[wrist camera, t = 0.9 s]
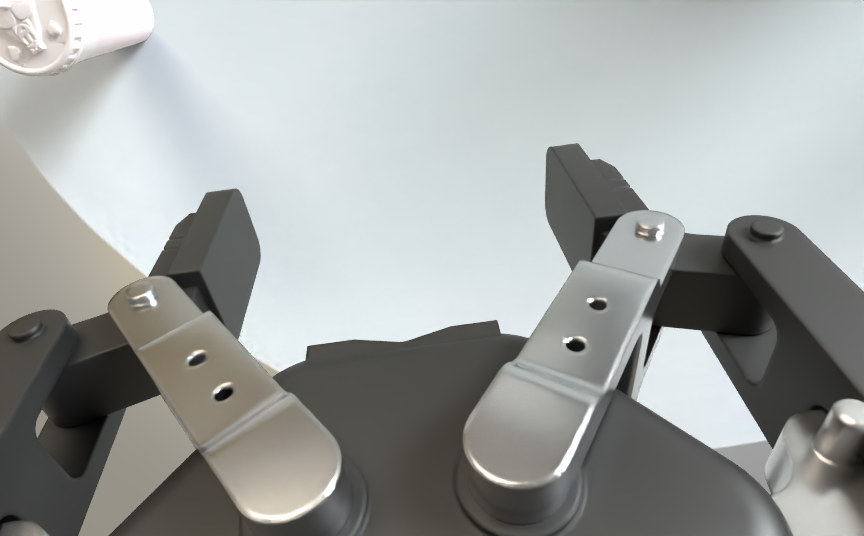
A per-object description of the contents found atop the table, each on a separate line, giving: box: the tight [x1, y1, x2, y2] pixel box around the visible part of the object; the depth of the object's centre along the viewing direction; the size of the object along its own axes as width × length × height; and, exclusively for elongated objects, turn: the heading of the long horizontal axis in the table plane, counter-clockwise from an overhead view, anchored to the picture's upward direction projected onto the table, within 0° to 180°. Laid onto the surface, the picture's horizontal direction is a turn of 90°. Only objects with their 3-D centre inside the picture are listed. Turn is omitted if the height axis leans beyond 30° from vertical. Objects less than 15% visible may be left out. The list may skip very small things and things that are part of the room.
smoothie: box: [0, 0, 154, 76], centre depth 31 cm, size 6×6×14 cm
